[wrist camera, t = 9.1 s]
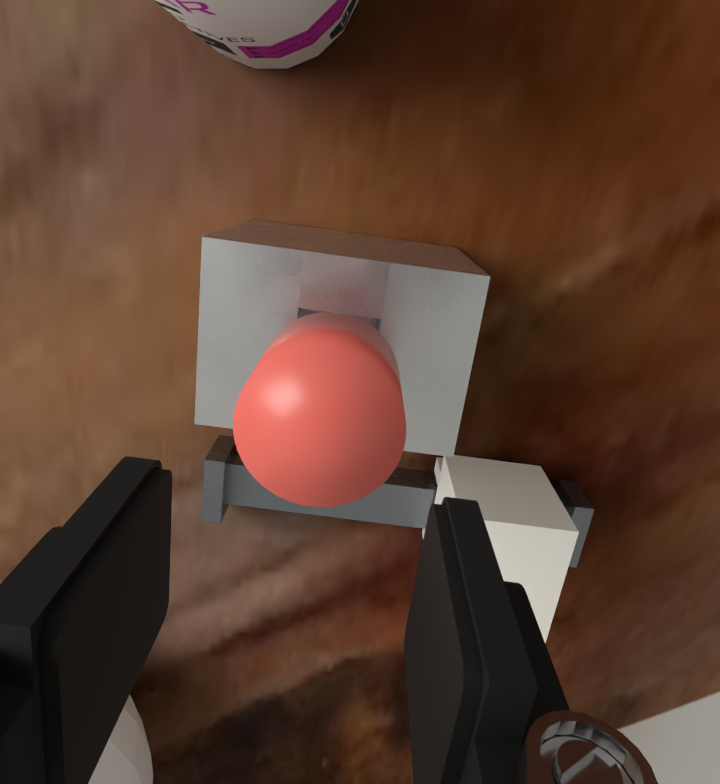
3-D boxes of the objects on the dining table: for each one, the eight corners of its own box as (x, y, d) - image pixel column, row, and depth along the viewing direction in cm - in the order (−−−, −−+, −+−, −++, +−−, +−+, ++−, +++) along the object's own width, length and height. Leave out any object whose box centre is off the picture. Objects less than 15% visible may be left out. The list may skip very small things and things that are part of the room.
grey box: (456, 246, 29) (490, 276, 21) (430, 386, 32) (451, 463, 23) (252, 218, 29) (202, 236, 20) (242, 361, 31) (194, 431, 23)
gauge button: (403, 296, 22) (419, 360, 14) (385, 407, 23) (392, 516, 16) (284, 281, 22) (238, 336, 14) (274, 392, 23) (228, 496, 16)
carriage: (531, 450, 32) (579, 531, 25) (504, 559, 35) (539, 662, 27) (440, 439, 32) (460, 517, 25) (418, 548, 34) (431, 649, 27)
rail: (575, 481, 33) (594, 509, 30) (559, 535, 35) (576, 567, 32) (218, 435, 33) (204, 459, 30) (215, 492, 34) (201, 521, 31)
